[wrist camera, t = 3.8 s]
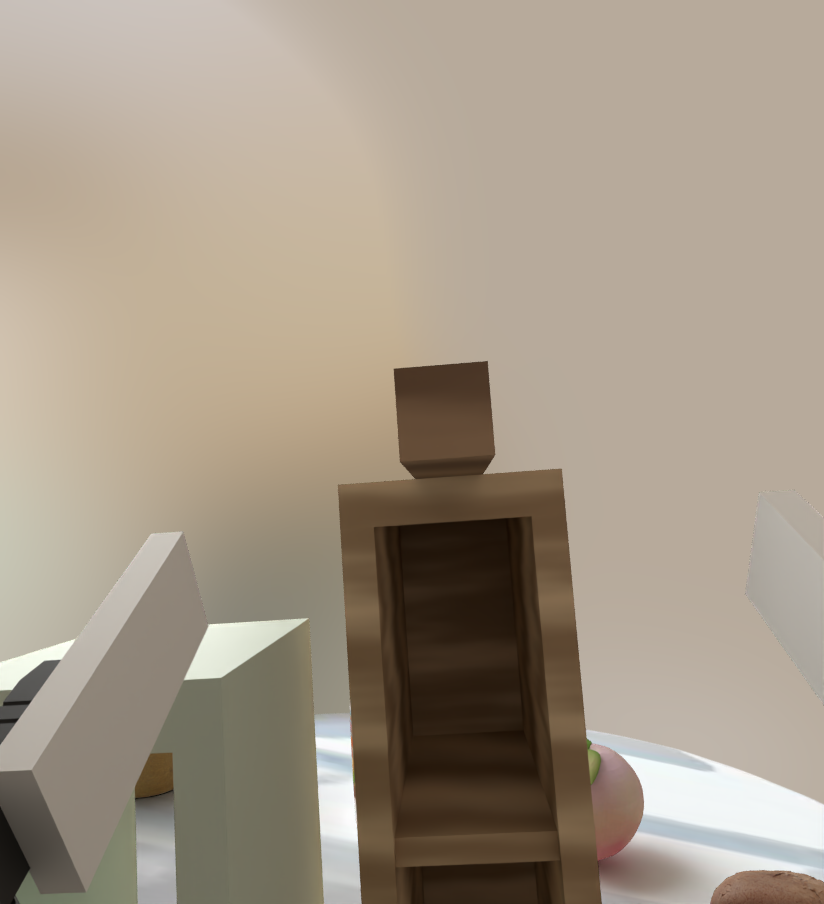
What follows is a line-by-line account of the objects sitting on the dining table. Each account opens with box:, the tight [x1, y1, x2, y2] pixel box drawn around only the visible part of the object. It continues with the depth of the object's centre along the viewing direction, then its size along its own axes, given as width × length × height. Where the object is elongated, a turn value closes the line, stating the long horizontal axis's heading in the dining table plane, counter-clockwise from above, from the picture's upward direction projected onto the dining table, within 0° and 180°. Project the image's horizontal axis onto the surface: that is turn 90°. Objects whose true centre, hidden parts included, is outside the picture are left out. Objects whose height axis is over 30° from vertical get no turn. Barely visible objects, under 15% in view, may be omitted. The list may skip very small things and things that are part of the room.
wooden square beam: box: [394, 361, 495, 479], centre depth 33 cm, size 24×3×3 cm, turn 176°
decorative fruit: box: [587, 739, 644, 860], centre depth 55 cm, size 9×8×10 cm
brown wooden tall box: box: [338, 469, 602, 904], centre depth 37 cm, size 16×10×30 cm, turn 176°
